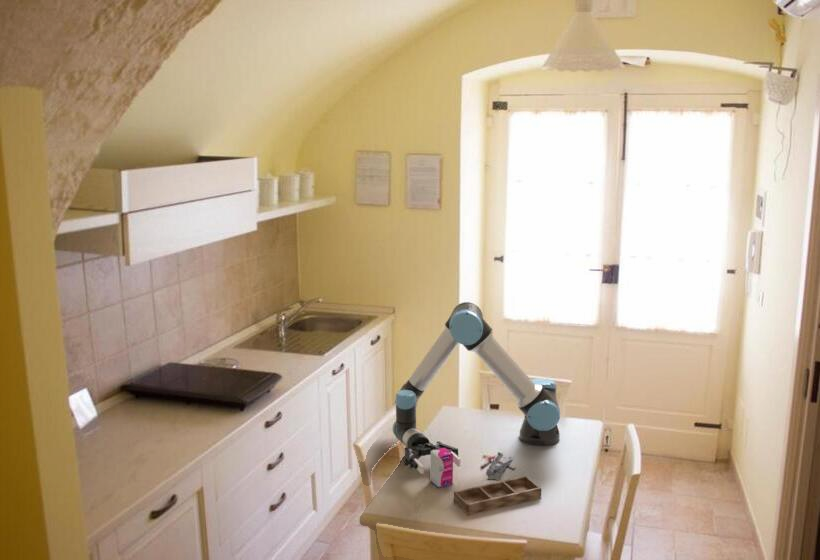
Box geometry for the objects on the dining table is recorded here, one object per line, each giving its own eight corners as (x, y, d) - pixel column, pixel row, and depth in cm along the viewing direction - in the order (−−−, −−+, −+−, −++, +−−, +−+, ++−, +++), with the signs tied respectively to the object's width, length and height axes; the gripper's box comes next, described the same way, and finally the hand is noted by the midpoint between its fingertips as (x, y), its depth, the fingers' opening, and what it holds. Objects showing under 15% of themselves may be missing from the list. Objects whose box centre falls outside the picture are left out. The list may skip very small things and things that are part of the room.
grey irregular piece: (498, 483, 262) (498, 477, 261) (479, 479, 264) (479, 474, 264) (516, 459, 280) (516, 453, 280) (498, 456, 283) (498, 450, 282)
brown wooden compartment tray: (525, 485, 259) (525, 475, 258) (541, 498, 250) (541, 488, 249) (453, 501, 249) (453, 491, 248) (467, 515, 240) (467, 505, 239)
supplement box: (438, 488, 257) (438, 456, 255) (429, 481, 263) (429, 450, 260) (453, 484, 260) (453, 453, 258) (444, 477, 265) (444, 446, 263)
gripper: (447, 446, 284) (474, 469, 265) (384, 458, 275) (407, 483, 255) (447, 427, 282) (474, 449, 263) (383, 438, 273) (406, 462, 254)
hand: (441, 466), depth 259 cm, fingers open, 13 cm apart
